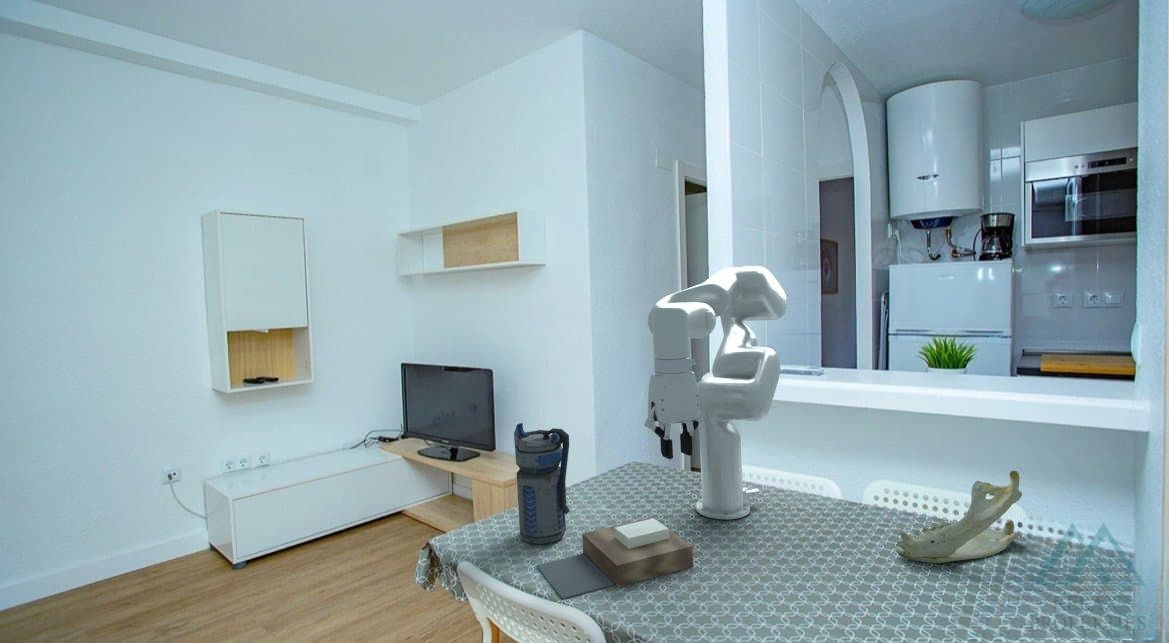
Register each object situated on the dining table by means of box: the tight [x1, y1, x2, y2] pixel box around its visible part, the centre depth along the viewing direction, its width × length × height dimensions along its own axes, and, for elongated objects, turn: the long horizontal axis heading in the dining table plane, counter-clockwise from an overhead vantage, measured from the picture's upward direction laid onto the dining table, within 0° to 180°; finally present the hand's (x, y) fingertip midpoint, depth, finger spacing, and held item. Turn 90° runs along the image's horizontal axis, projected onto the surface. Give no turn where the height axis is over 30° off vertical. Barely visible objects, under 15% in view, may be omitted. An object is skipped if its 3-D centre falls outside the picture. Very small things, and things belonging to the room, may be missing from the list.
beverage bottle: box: [513, 422, 571, 545], centre depth 126 cm, size 10×13×25 cm
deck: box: [581, 517, 694, 588], centre depth 114 cm, size 16×16×4 cm
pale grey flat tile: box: [614, 518, 670, 549], centre depth 115 cm, size 9×6×2 cm, turn 113°
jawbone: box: [895, 470, 1023, 564], centre depth 109 cm, size 25×18×10 cm
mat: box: [536, 553, 615, 601], centre depth 109 cm, size 10×14×1 cm
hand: (676, 454), depth 117 cm, fingers open, 3 cm apart
